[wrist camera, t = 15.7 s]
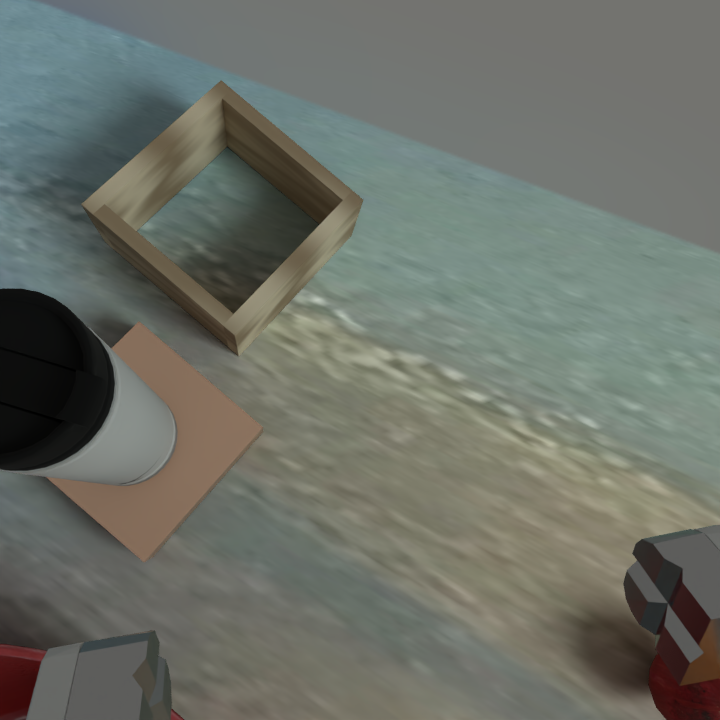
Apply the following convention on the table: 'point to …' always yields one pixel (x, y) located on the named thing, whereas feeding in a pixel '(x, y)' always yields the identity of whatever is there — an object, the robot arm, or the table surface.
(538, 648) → the table surface
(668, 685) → the onion
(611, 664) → the table surface
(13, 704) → the mixing bowl
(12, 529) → the table surface
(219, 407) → the tile stand
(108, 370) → the travel mug
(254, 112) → the open wooden box frame
